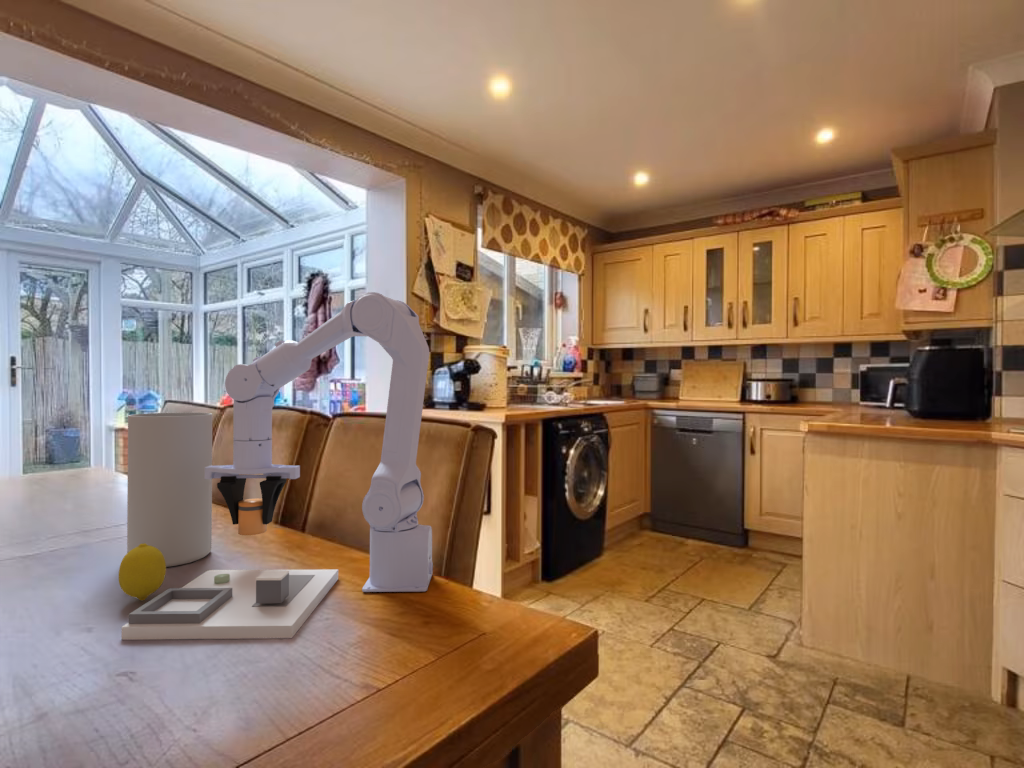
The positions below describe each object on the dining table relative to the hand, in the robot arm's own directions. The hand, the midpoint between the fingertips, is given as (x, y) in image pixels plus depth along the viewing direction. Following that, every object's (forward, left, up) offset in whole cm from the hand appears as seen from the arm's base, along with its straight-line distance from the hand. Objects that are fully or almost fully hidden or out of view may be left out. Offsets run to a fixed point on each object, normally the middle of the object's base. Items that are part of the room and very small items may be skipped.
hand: (252, 522), depth 90 cm
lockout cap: (0, 0, -2) cm, 2 cm away
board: (-5, +14, -8) cm, 17 cm away
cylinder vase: (+17, -7, -8) cm, 20 cm away
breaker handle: (-10, +17, -6) cm, 21 cm away
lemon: (+10, +12, -8) cm, 18 cm away
